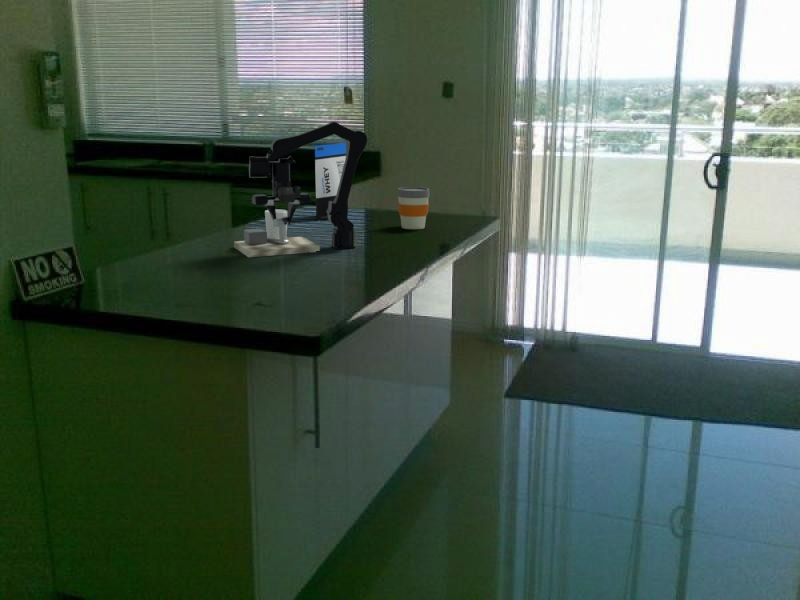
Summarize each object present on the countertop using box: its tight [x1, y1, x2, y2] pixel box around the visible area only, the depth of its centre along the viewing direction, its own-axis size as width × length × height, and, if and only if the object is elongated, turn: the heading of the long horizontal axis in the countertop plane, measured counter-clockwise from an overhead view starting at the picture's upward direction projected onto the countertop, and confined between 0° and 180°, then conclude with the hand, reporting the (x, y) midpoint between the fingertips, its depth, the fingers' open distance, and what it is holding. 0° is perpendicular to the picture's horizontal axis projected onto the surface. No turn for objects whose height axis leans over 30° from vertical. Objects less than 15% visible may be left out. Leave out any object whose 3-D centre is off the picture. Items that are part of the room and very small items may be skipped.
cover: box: [243, 228, 267, 245], centre depth 265 cm, size 6×6×4 cm
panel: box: [233, 236, 321, 258], centre depth 265 cm, size 24×18×2 cm
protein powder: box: [314, 142, 346, 222], centre depth 330 cm, size 10×24×30 cm, turn 153°
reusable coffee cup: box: [397, 186, 431, 230], centre depth 309 cm, size 13×13×15 cm
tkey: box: [267, 215, 289, 244], centre depth 265 cm, size 8×9×8 cm
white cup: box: [264, 208, 288, 238], centre depth 283 cm, size 8×8×10 cm
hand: (282, 225), depth 263 cm, fingers closed on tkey, 4 cm apart
